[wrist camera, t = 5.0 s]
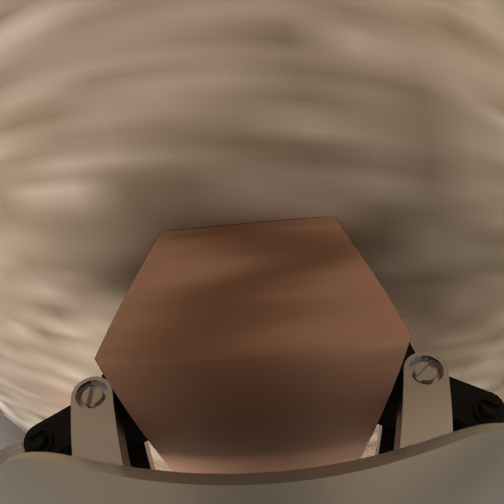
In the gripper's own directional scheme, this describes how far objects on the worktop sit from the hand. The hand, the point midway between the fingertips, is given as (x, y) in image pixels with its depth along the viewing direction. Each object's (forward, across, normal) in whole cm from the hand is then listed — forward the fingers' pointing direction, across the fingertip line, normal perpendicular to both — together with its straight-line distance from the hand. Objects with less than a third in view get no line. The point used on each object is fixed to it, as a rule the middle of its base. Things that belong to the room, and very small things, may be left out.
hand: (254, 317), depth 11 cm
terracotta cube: (+1, 0, 0) cm, 1 cm away
